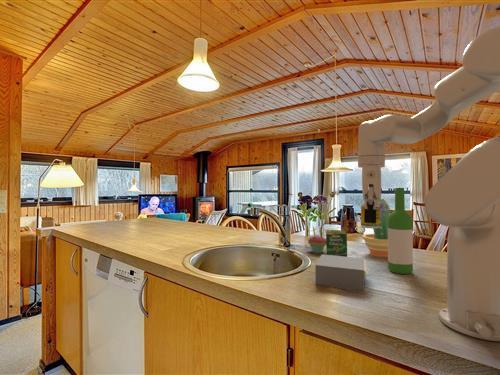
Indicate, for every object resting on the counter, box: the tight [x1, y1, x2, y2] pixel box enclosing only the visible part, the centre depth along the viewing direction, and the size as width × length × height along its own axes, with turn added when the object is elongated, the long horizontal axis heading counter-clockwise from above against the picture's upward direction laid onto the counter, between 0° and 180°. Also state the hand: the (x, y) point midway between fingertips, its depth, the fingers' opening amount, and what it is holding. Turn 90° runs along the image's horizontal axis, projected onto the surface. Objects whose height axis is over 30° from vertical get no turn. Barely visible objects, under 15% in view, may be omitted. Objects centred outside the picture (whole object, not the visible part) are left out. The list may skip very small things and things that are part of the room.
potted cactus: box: [361, 198, 391, 258], centre depth 119 cm, size 15×15×25 cm
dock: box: [314, 254, 367, 292], centre depth 86 cm, size 14×14×6 cm
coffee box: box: [325, 229, 348, 257], centre depth 106 cm, size 8×3×13 cm, turn 63°
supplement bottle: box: [360, 196, 380, 230], centre depth 82 cm, size 5×5×10 cm
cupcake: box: [307, 226, 326, 254], centre depth 125 cm, size 9×8×12 cm
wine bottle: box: [387, 187, 414, 275], centre depth 95 cm, size 8×8×30 cm
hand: (370, 220), depth 82 cm, fingers closed on supplement bottle, 5 cm apart
